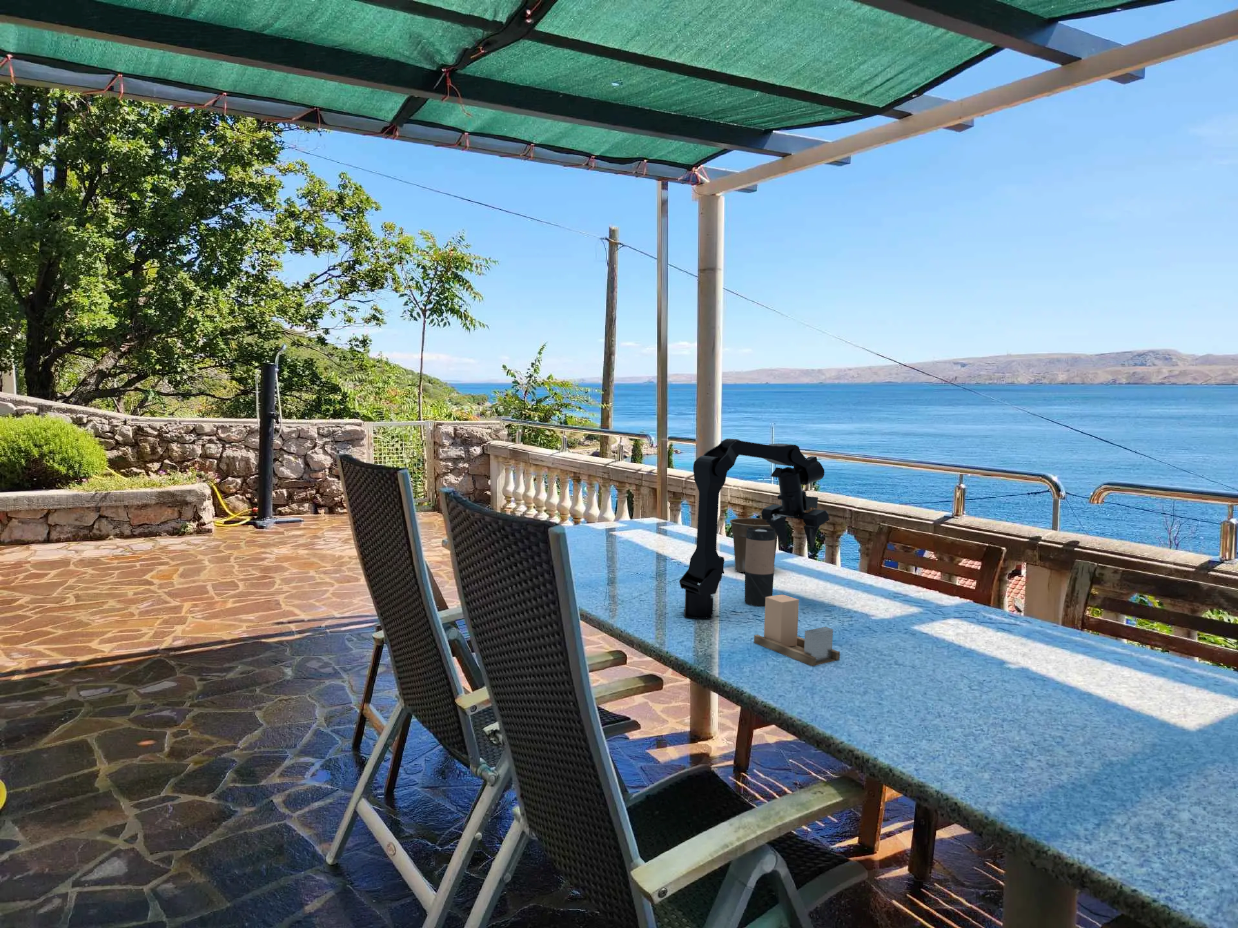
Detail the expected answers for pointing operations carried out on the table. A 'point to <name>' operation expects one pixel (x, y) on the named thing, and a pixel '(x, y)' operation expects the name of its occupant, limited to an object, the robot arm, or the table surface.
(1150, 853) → the table surface
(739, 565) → the plant pot
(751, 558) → the travel mug
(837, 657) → the rail
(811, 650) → the grey square block
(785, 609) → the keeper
